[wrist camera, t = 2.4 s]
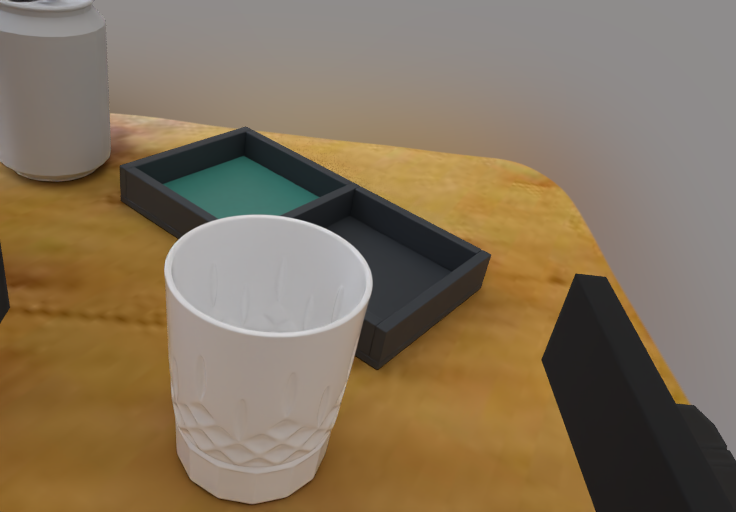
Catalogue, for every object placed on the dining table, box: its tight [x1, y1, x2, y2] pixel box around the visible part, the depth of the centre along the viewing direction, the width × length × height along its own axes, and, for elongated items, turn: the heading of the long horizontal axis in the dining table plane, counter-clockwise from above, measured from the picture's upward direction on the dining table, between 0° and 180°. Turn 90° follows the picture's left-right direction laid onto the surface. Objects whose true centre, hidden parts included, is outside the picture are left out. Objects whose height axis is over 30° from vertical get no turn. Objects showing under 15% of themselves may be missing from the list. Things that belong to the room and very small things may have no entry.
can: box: [0, 0, 111, 182], centre depth 47 cm, size 8×8×12 cm
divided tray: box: [120, 127, 491, 370], centre depth 46 cm, size 22×11×3 cm, turn 52°
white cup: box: [164, 215, 373, 504], centre depth 30 cm, size 8×8×10 cm
